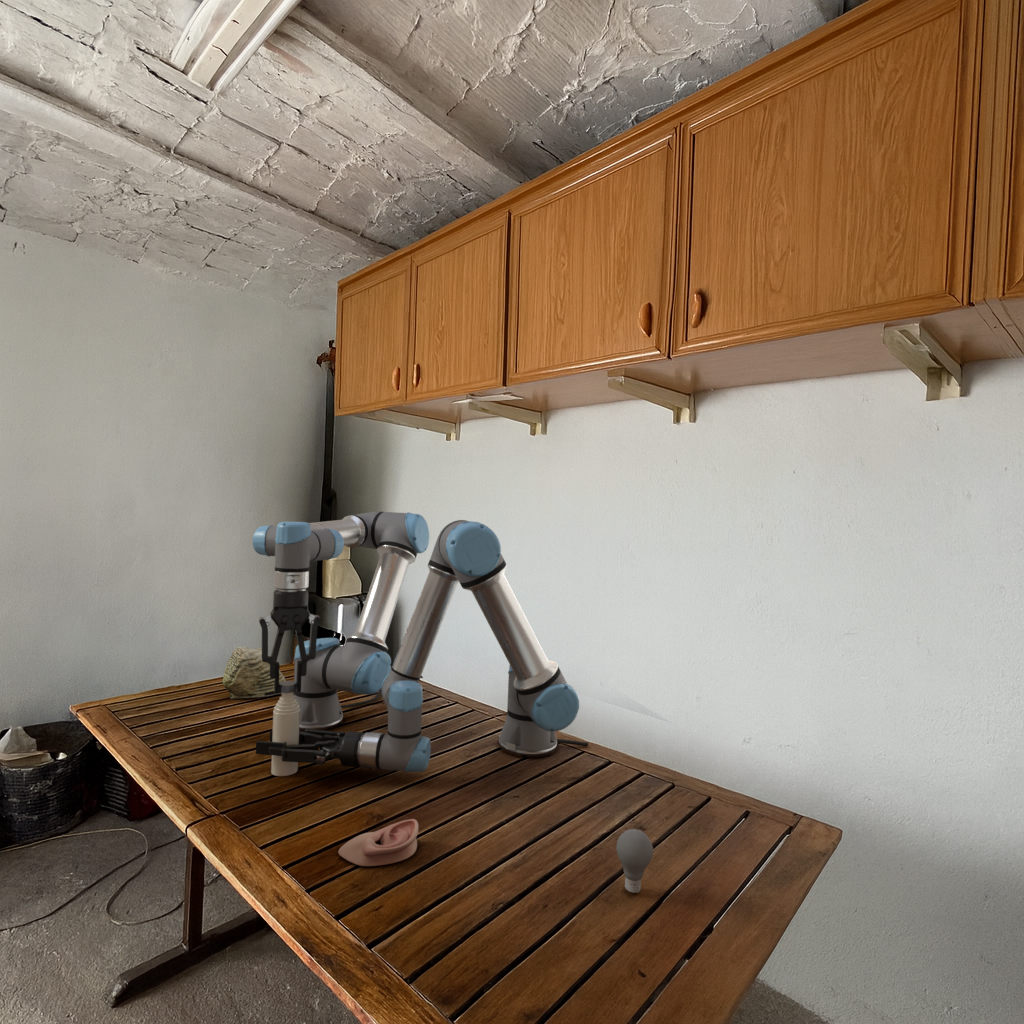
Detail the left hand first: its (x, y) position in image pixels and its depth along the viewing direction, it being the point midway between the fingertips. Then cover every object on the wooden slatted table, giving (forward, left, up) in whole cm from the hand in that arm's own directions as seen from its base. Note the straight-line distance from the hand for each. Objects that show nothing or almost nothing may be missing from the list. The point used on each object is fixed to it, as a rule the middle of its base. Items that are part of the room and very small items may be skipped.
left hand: (287, 690), depth 145 cm
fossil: (-23, -55, -19) cm, 63 cm away
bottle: (0, 0, -19) cm, 19 cm away
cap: (0, 0, +1) cm, 1 cm away
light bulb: (-14, +81, -19) cm, 85 cm away
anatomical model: (+7, +41, -19) cm, 46 cm away
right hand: (+3, -4, -12) cm, 13 cm away
